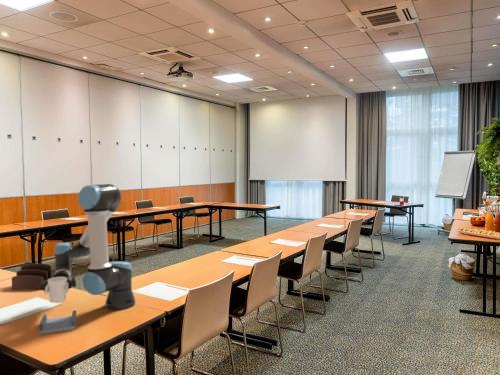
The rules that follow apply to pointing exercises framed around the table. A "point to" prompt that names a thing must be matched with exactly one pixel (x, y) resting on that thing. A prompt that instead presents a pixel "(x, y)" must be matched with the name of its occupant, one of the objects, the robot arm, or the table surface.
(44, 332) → the dock
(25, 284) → the letter holder
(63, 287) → the white cup
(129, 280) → the robot arm
